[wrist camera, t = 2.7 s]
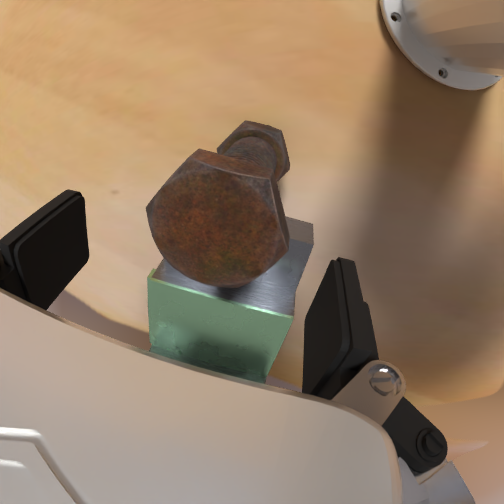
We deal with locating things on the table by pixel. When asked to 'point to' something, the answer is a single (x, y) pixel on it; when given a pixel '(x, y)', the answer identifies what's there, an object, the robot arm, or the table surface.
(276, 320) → the stepped stand
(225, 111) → the table surface
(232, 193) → the bolt
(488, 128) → the table surface
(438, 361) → the table surface
